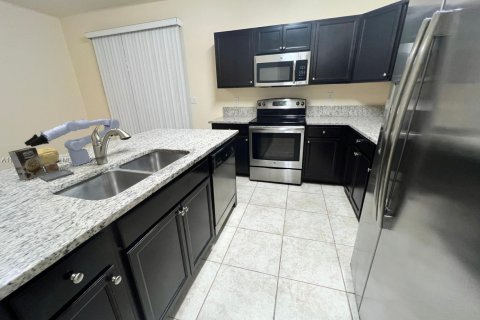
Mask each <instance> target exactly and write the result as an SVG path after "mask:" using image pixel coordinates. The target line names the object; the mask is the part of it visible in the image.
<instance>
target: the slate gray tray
mask: <svg viewBox="0 0 480 320" xmlns="http://www.w3.org/2000/svg"><path fill="white" fill-rule="evenodd" d="M72 175H75V173H74V171H73V170H70V169H67V168H62V169H59V170H58V171H54V172H50V173H46V174H43V175H40V176H38V177H39V179H41V180H43V181H44V182H47V183H49V182H52V181H55V180H59V179H62V178H65V177H68V176H72Z"/></svg>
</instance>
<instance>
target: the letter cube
mask: <svg viewBox="0 0 480 320" xmlns="http://www.w3.org/2000/svg"><path fill="white" fill-rule="evenodd" d="M42 165H43V168H44V170H45V173H46V174H47V173H50V172H54V171H58V170H60V168H59V165H58V163H57V162H52V163H48V164H42Z"/></svg>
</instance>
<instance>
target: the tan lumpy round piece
mask: <svg viewBox="0 0 480 320" xmlns="http://www.w3.org/2000/svg"><path fill="white" fill-rule="evenodd" d="M37 152H38V155H39V157H40V160H41V163H42V165H44V164H48V163H52V162H55V163H57V162H58V160H59V158H60V155H59V152H58V149H57V148H54V147H42V148H39V149H37Z"/></svg>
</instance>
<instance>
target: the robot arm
mask: <svg viewBox="0 0 480 320" xmlns="http://www.w3.org/2000/svg"><path fill="white" fill-rule="evenodd" d="M120 123H121V122H120V121H119V120H118V119H116V118H114V119H113V118H99V119H94V120H87V119H85V118H81V119H80V120H72V121H64V122H63V123H62V124H60V125H57V126H55V127H52V128H51V129H48V130H46V131H43V130H40V131H39V132H40V134H39V135H38V134H36V133H35V134H33V135H32V136H31V137H30V138H29V139H28V140H26V141H24V145H25V146H26V147H29V146H30V148H35V147H38V146H43V145H48V144H50V142H52V141H54V140H56V139H58V138H60V137H62V136H65V135H66V134H68V133H71V132H77V131H79V130H87V129H90V128H91V126H92V127H93V126H100V125H99V124H101V125H102V126H103V127H104V128H103V130H100V131H98V133H99V135H100V136H101V138H103V137H104V135H105V134H106V133H107V132H108V131H109V130H111V129H115V128H116V130H118V129H119V127H120ZM92 134H93V133H92ZM92 134H89V135H86V136H82V137H80V138H75V139H67V140H66V141H65V142H64V148H65V149H67V152H68V155H69V156H68V157H69V158H70V161H71V163H69V165H71V166H73V167H77V166H80V165H84V164H87V163H90V162H92V160H91V158H90V157H91V156H90V154H89V151H88V150H87V149H86V148H85V147H86V146H87V145H89V144H92V143H93V142H92V141H91V135H92ZM103 139H104V138H103Z"/></svg>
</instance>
